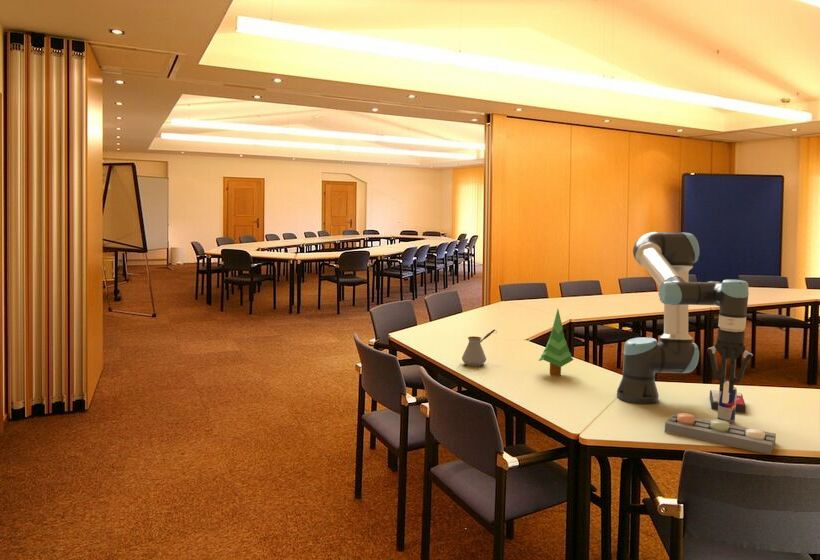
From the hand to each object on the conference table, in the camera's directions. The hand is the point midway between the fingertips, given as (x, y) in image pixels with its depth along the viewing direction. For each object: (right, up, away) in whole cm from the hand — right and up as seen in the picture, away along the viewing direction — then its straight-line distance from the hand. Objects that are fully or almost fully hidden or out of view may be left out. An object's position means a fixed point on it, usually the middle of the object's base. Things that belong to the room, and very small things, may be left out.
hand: (725, 401), depth 190 cm
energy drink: (+9, -10, +17) cm, 22 cm away
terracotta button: (-9, -9, +7) cm, 15 cm away
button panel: (-1, -12, +1) cm, 12 cm away
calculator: (+19, -9, +35) cm, 40 cm away
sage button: (-1, -10, +1) cm, 10 cm away
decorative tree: (-36, -3, +75) cm, 83 cm away
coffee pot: (-67, -1, +95) cm, 116 cm away
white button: (+7, -11, -5) cm, 14 cm away
